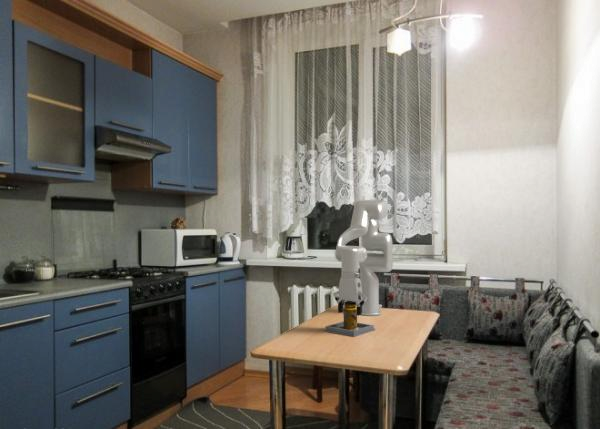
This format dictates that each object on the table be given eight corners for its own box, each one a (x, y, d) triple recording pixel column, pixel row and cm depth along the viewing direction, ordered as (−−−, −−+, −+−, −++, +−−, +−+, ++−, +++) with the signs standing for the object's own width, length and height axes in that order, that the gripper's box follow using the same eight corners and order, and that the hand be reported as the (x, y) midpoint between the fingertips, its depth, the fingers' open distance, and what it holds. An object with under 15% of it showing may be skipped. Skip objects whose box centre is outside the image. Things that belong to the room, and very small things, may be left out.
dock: (345, 324, 232) (345, 320, 232) (375, 329, 221) (375, 325, 221) (323, 331, 218) (323, 326, 218) (354, 336, 208) (354, 331, 208)
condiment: (359, 330, 218) (359, 302, 218) (340, 330, 216) (341, 303, 216) (355, 326, 225) (355, 300, 225) (337, 327, 224) (337, 300, 224)
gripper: (371, 276, 218) (371, 314, 218) (338, 273, 229) (338, 310, 229) (362, 277, 212) (361, 317, 212) (329, 274, 223) (329, 312, 223)
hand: (349, 313), depth 220 cm, fingers open, 9 cm apart
